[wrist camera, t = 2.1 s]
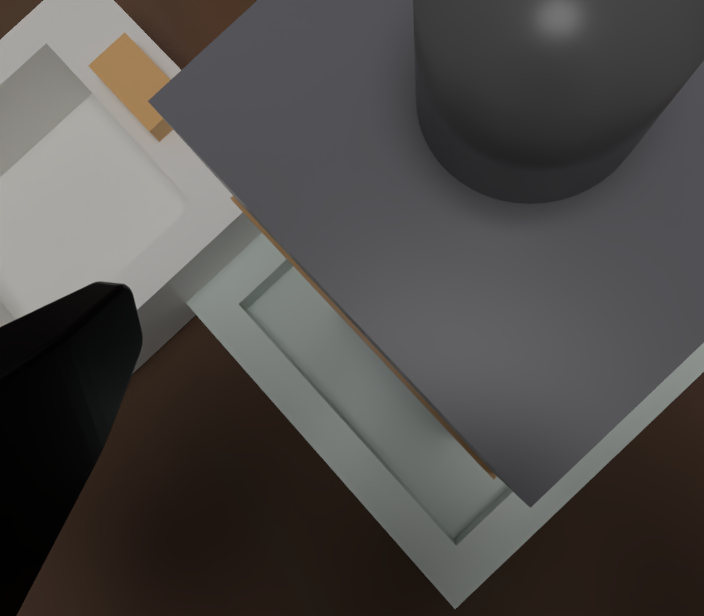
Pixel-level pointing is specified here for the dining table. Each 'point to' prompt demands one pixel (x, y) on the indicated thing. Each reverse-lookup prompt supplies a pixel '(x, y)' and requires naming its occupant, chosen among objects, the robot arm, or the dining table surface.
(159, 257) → the pdu strip
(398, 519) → the tray
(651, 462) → the dining table surface
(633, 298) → the dark grey square canister
